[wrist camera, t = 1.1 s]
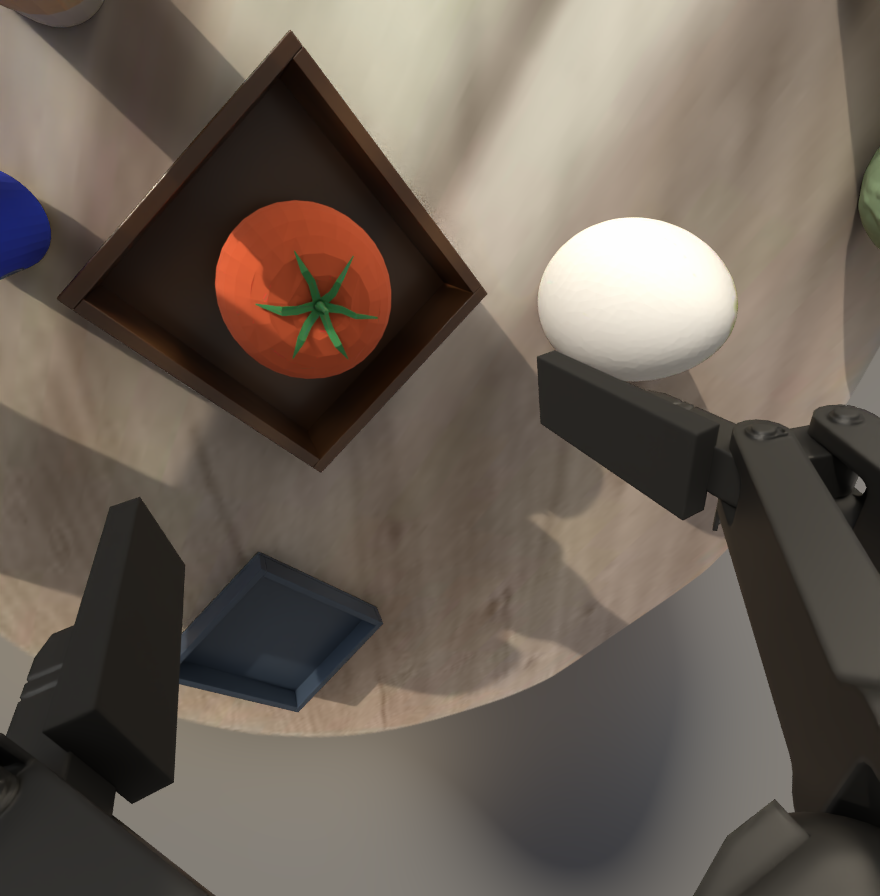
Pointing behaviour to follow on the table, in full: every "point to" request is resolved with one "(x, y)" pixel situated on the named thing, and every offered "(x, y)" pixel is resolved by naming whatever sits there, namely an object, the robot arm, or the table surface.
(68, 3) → the coffee cup
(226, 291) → the tomato
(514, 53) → the table surface
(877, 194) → the cabbage
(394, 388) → the open wooden box
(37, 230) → the beverage can
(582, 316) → the decorative egg
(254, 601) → the tray
